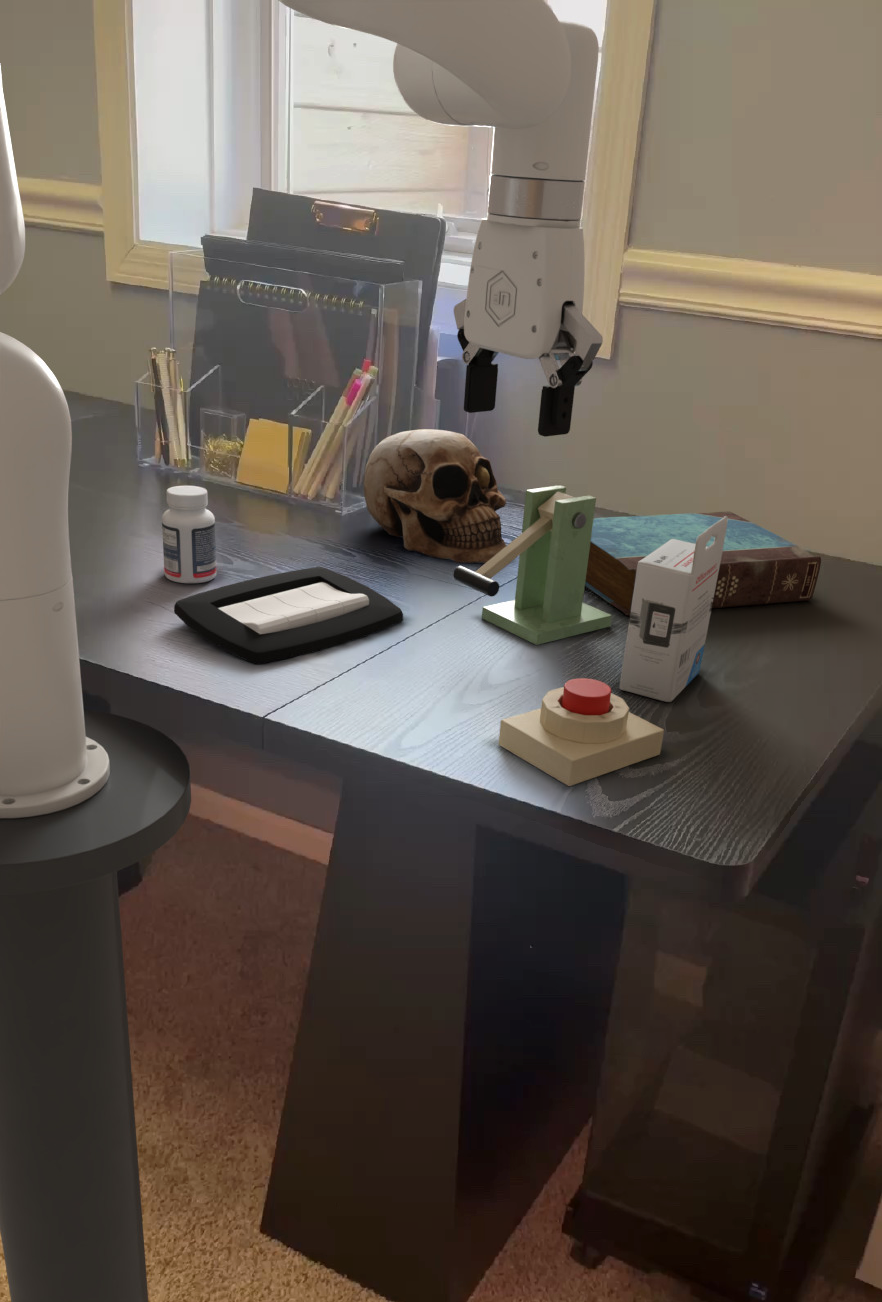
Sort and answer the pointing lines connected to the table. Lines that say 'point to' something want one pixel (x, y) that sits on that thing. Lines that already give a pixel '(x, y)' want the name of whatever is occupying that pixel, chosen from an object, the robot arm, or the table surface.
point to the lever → (509, 551)
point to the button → (586, 696)
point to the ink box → (671, 615)
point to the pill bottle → (188, 536)
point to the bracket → (552, 575)
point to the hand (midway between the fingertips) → (515, 422)
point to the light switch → (287, 614)
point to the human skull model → (435, 495)
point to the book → (749, 556)
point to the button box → (579, 739)
